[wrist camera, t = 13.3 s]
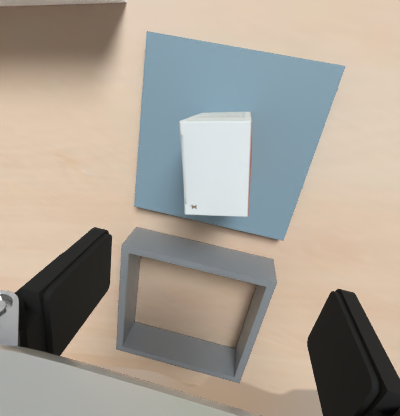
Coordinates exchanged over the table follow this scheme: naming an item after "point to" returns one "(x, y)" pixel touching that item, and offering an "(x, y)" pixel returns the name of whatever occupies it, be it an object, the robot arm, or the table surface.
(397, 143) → the table surface
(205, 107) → the board
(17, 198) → the table surface
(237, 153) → the small box
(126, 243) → the rectangular frame
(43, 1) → the building model
